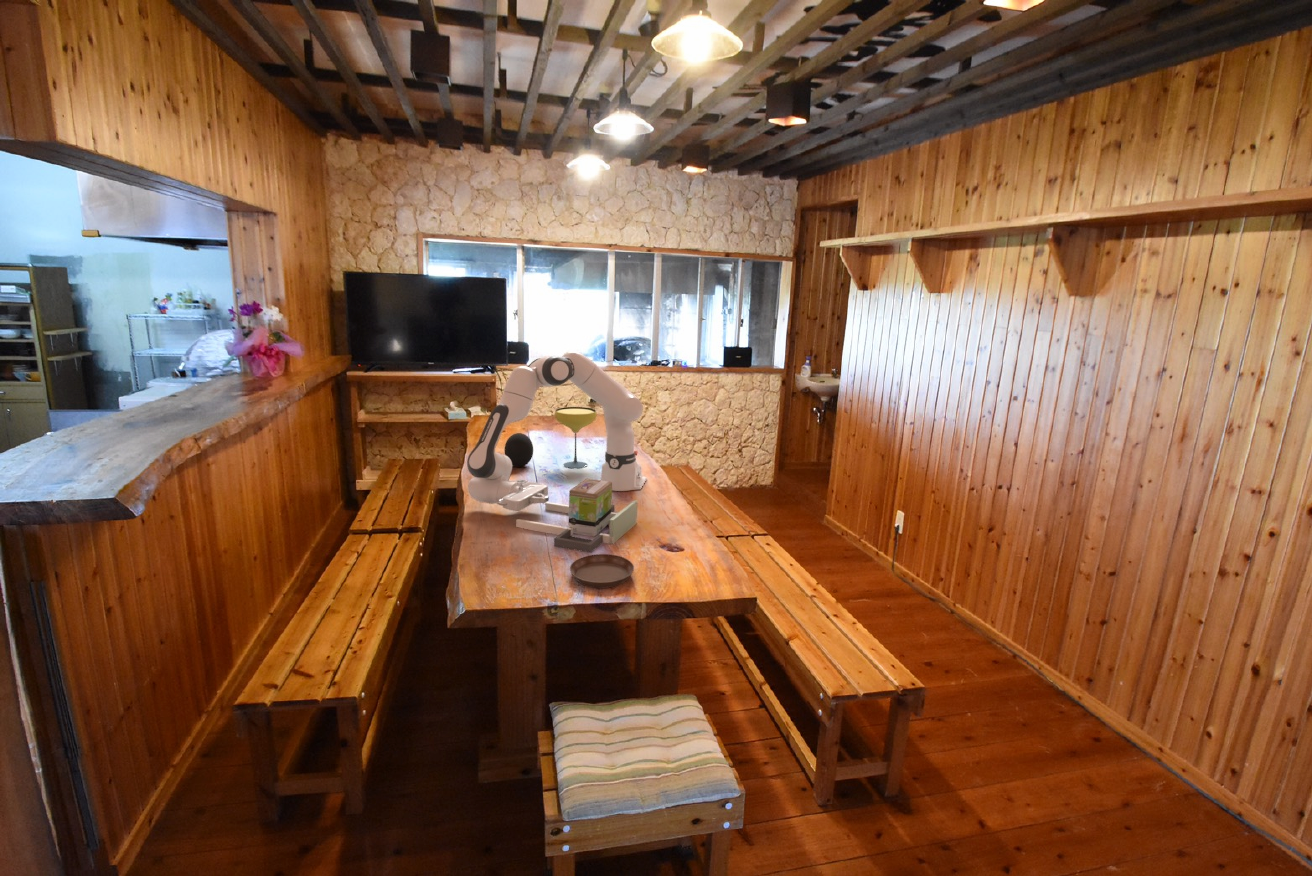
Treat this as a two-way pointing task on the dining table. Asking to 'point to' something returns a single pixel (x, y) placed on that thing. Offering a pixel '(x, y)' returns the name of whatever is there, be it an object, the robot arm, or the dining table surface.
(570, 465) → the cocktail glass
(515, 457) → the decorative egg
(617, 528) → the channel
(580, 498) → the tea box
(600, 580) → the plant saucer
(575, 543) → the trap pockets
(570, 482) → the dining table surface
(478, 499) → the robot arm
